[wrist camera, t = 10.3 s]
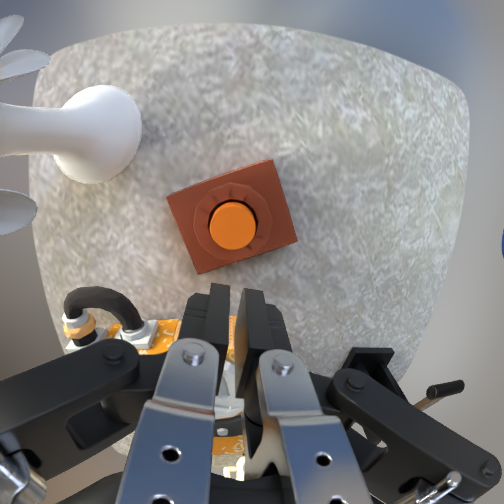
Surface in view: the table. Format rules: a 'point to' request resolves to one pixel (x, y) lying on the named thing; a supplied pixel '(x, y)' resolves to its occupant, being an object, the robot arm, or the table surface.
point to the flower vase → (63, 130)
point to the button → (232, 226)
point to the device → (153, 351)
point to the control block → (241, 191)
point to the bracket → (374, 372)
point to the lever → (440, 393)
